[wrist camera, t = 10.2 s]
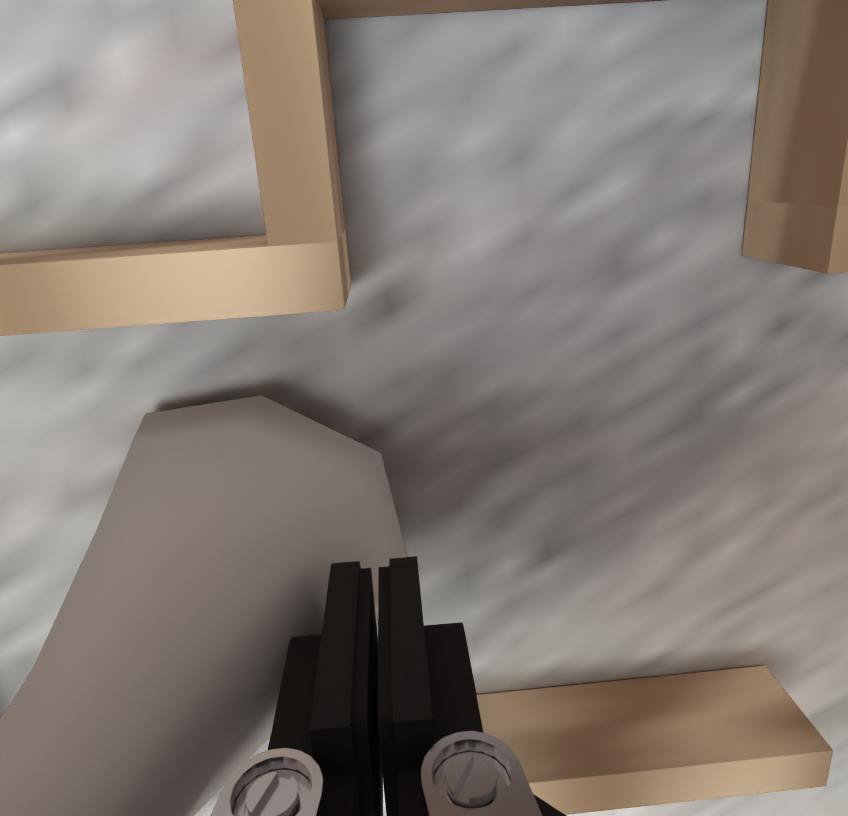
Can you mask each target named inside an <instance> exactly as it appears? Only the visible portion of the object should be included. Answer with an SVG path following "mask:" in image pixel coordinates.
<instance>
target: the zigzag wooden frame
mask: <svg viewBox="0 0 848 816" xmlns="http://www.w3.org/2000/svg"><path fill="white" fill-rule="evenodd" d="M643 1H661V0H233V4H234V11H235V18H236V25H237V32H238V39H239V46H240V53H241V60H242V67H243V74H244V81H245V89H246V96H247V103H248V110H249V117H250V124H251V131H252V138H253V145H254V152H255V159H256V166H257V173H258V180H259V188H260V195H261V202H262V209H263V216H264V223H265V230H266V235H254V236H240V237H226V238H211V239H197V240H183V241H168V242H154V243H140V244H125V245H111V246H97V247H82V248H68V249H54V250H39V251H25V252H11V253H0V336H4V335H18V334H31V333H44V332H57V331H71V330H84V329H97V328H111V327H124V326H137V325H151V324H164V323H177V322H190V321H204V320H217V319H230V318H244V317H257V316H270V315H284V314H297V313H310V312H324V311H337V310H345V306H346V302H347V298H348V294H349V290H350V286H351V280H350V270H349V260H348V250H347V241H346V231H345V221H344V211H343V201H342V191H341V181H340V171H339V161H338V151H337V141H336V131H335V121H334V111H333V101H332V92H331V82H330V72H329V62H328V52H327V42H326V32H325V22H324V19H338V18H356V17H374V16H392V15H410V14H428V13H446V12H464V11H482V10H500V9H518V8H536V7H554V6H571V5H589V4H607V3H625V2H643ZM742 256H746V257H751V258H755V259H760V260H765V261H770V262H775V263H779V264H784V265H789V266H794V267H799V268H803V269H808V270H813V271H818V272H822V273H827V274H829V273H842V272H848V0H768V7H767V17H766V27H765V36H764V46H763V56H762V66H761V75H760V85H759V95H758V104H757V114H756V124H755V134H754V143H753V153H752V163H751V172H750V182H749V192H748V202H747V211H746V221H745V231H744V240H743V250H742ZM477 700H478V706H479V711H480V716H481V722H482V727H483V732H484V733H487V734H490V735H492V736H494V737H496V738H498V739H501V740H502V741H503V742H504V743H505V744H507V745H508V746H509V747H510V748H511V749H512V750H513V752H514V753H515V755H516V757H517V758H518V760H519V762H520V764H521V766H522V769H523V771H524V773H525V776H526V778H527V780H528V783H529V785H530V788H531V790H532V792H533V794H534V795H536V796H537V797H539V798H540V799H542V800H543V801H545V802H546V803H548V804H550V805H551V806H553V807H554V808H556V809H557V810H559V811H560V812H562V813H563V814H565V815H567V814H576V813H585V812H594V811H604V810H613V809H622V808H631V807H640V806H649V805H658V804H667V803H676V802H685V801H694V800H703V799H712V798H721V797H730V796H739V795H749V794H758V793H767V792H776V791H785V790H794V789H803V788H812V787H821V786H826V783H827V778H828V773H829V769H830V764H831V759H832V754H833V750H832V749H831V747H830V746H829V745H828V744H827V742H826V741H825V740H824V739H823V737H822V736H821V735H820V734H819V732H818V731H817V730H816V728H815V727H814V726H813V725H812V723H811V722H810V721H809V720H808V718H807V717H806V716H805V715H804V713H803V712H802V711H801V710H800V708H799V707H798V706H797V705H796V703H795V702H794V701H793V700H792V698H791V697H790V696H789V695H788V693H787V692H786V691H785V690H784V688H783V687H782V686H781V685H780V683H779V682H778V681H777V680H776V678H775V677H774V676H773V675H772V673H771V672H770V671H769V670H768V668H767V667H766V666H756V667H746V668H736V669H727V670H717V671H707V672H697V673H687V674H677V675H668V676H658V677H648V678H638V679H628V680H618V681H609V682H599V683H589V684H579V685H569V686H559V687H549V688H540V689H530V690H520V691H510V692H500V693H490V694H481V695H477Z"/></svg>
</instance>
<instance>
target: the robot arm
mask: <svg viewBox="0 0 848 816" xmlns="http://www.w3.org/2000/svg"><path fill="white" fill-rule="evenodd" d="M383 782H384V793H385V803H386V813H387V816H566V815H565V814H563V813H562V812H560V811H559V810H557V809H556V808H554V807H553V806H551V805H550V804H548V803H546V802H545V801H543V800H542V799H540V798H539V797H537V796H536V795H534V794H533V792H532V790H531V788H530V785H529V783H528V780H527V778H526V776H525V773H524V771H523V769H522V766H521V764H520V762H519V760H518V758H517V757H516V755H515V753H514V752H513V750H512V749H511V748H510V747H509V746H508V745H507V744H505V743H504V742H503V741H502V740H501V739H498V738H496V737H494V736H492V735H490V734H487V733H484V732H483V727H482V722H481V716H480V711H479V706H478V700H477V695H476V690H475V684H474V679H473V674H472V668H471V663H470V658H469V652H468V647H467V642H466V636H465V631H464V626H463V623H450V624H438V625H427V626H424V625H423V615H422V604H421V594H420V584H419V574H418V563H417V556H415V557H402V558H390V559H389V566H385V567H379V569H378V636H377V625H376V614H375V603H374V592H373V581H372V571H371V568H361V566H360V561H353V562H341V563H331V566H330V574H329V581H328V589H327V597H326V604H325V612H324V620H323V627H322V634H321V635H309V636H297V637H292V638H291V639H290V642H289V646H288V651H287V656H286V661H285V666H284V671H283V676H282V681H281V686H280V691H279V696H278V701H277V706H276V711H275V716H274V721H273V726H272V732H271V737H270V742H269V747H268V751H265V752H262V753H260V754H257V755H255V756H253V757H252V758H250V759H248V760H247V761H245V762H244V763H242V764H241V765H240V766H239V767H238V768H237V769H236V770H235V771H234V772H233V773H232V774H231V775H230V776H229V778H228V780H227V781H226V783H225V785H224V786H223V788H222V790H221V792H220V795H219V797H218V799H217V802H216V804H215V807H214V809H213V811H212V814H211V816H383Z"/></svg>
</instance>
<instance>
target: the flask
mask: <svg viewBox="0 0 848 816" xmlns="http://www.w3.org/2000/svg"><path fill="white" fill-rule="evenodd" d="M402 557H408V556H407V552H406V548H405V544H404V540H403V537H402V533H401V529H400V525H399V521H398V517H397V513H396V510H395V506H394V502H393V498H392V494H391V490H390V486H389V482H388V479H387V475H386V471H385V467H384V463H383V459H382V455H381V453H380V452H378V451H376V450H374V449H371V448H369V447H367V446H365V445H363V444H361V443H359V442H357V441H355V440H353V439H351V438H349V437H347V436H345V435H343V434H340V433H338V432H336V431H334V430H332V429H330V428H328V427H326V426H324V425H322V424H320V423H318V422H316V421H314V420H312V419H309V418H307V417H305V416H303V415H301V414H299V413H297V412H295V411H293V410H291V409H289V408H287V407H285V406H283V405H281V404H278V403H276V402H274V401H272V400H270V399H268V398H266V397H264V396H262V395H260V396H254V397H247V398H241V399H235V400H228V401H222V402H216V403H209V404H203V405H197V406H190V407H184V408H178V409H171V410H165V411H159V412H152V413H146V414H145V416H144V418H143V420H142V422H141V425H140V427H139V429H138V431H137V433H136V435H135V438H134V440H133V442H132V444H131V447H130V449H129V452H128V454H127V457H126V459H125V462H124V464H123V466H122V469H121V471H120V474H119V476H118V479H117V481H116V484H115V486H114V489H113V491H112V493H111V496H110V498H109V501H108V503H107V506H106V508H105V511H104V513H103V516H102V518H101V520H100V523H99V525H98V528H97V530H96V533H95V535H94V537H93V539H92V541H91V543H90V546H89V548H88V550H87V552H86V554H85V556H84V559H83V561H82V563H81V565H80V567H79V570H78V572H77V574H76V576H75V578H74V580H73V583H72V585H71V587H70V589H69V591H68V593H67V596H66V598H65V600H64V602H63V604H62V606H61V609H60V611H59V613H58V615H57V617H56V619H55V622H54V624H53V626H52V628H51V630H50V632H49V635H48V637H47V639H46V641H45V643H44V645H43V648H42V650H41V652H40V654H39V656H38V658H37V661H36V663H35V665H34V667H33V669H32V671H31V673H30V674H29V676H28V677H27V679H26V680H25V682H24V684H23V685H22V687H21V688H20V690H19V691H18V693H17V694H16V696H15V697H14V699H13V700H12V702H11V703H10V705H9V706H8V708H7V710H6V711H5V713H4V714H3V716H2V717H1V719H0V816H194V815H195V814H196V813H197V812H198V811H199V810H200V809H201V808H202V807H203V806H204V805H205V804H206V803H207V802H208V800H209V799H210V798H211V797H212V796H213V795H214V794H215V793H216V792H217V791H218V790H219V789H220V788H221V787H222V786H223V785H224V784H225V783H226V781H227V780H228V778H229V776H230V775H231V774H232V773H233V772H234V771H235V770H236V769H237V768H238V767H239V766H240V765H241V764H242V763H244V762H245V761H247V760H248V759H249V758H250V757H251V756H252V755H253V754H254V753H255V752H256V751H257V749H258V748H259V747H260V746H261V745H262V744H263V743H264V742H265V741H266V740H267V739H268V738H269V737H270V736H271V732H272V726H273V721H274V716H275V711H276V706H277V701H278V696H279V691H280V686H281V681H282V676H283V671H284V666H285V661H286V656H287V651H288V646H289V642H290V639H291V638H292V637H297V636H309V635H321V634H322V627H323V620H324V612H325V604H326V597H327V589H328V581H329V574H330V566H331V563H341V562H353V561H360V566H361V568H371V571H372V581H373V592H374V603H375V614H376V621H377V620H378V569H379V567H385V566H389V559H390V558H402Z"/></svg>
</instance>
